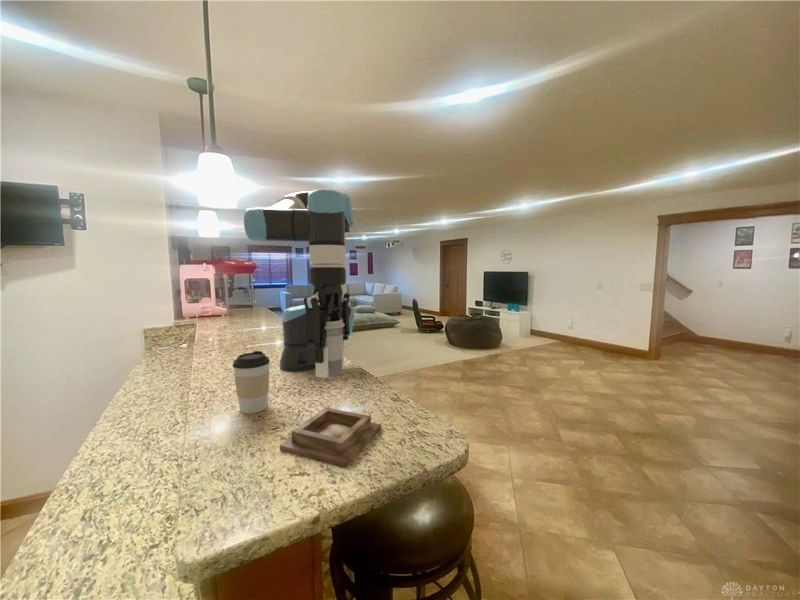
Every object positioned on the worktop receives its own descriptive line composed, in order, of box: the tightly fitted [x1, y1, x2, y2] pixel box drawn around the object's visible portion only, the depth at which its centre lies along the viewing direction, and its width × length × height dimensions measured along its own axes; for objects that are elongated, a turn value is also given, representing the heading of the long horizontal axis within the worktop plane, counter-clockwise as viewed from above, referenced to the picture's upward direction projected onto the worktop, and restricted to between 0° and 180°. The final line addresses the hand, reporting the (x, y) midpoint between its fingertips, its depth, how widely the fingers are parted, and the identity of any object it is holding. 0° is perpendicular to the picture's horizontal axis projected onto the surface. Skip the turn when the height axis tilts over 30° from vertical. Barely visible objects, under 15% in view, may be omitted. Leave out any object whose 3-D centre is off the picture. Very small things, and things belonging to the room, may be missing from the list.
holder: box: [279, 407, 382, 468], centre depth 72 cm, size 16×16×4 cm
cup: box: [325, 318, 345, 378], centre depth 70 cm, size 7×7×12 cm
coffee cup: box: [232, 350, 271, 414], centre depth 87 cm, size 9×9×15 cm
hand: (330, 372), depth 70 cm, fingers closed on cup, 5 cm apart
